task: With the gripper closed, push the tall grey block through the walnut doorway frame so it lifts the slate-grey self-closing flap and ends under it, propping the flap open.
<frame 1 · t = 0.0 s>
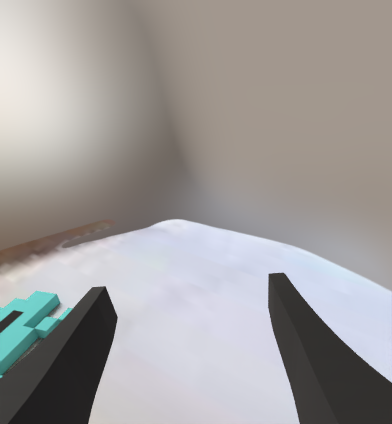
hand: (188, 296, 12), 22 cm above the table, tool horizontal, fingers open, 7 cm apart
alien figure: (3, 355, 38), on the table
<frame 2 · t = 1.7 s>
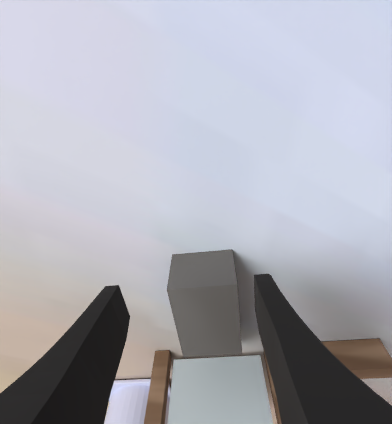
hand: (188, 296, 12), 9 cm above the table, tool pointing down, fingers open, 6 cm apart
flap: (218, 395, 26), point 4 cm above the table, hinge at 0.0°
tall grey block: (208, 294, 25), on the table
doorway frame: (216, 352, 29), on the table
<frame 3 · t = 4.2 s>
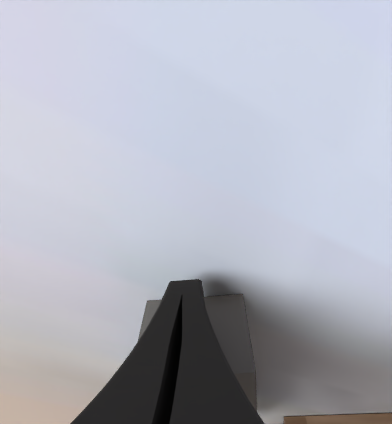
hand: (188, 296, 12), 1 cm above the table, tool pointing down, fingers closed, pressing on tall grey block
tall grey block: (204, 356, 17), on the table, touching gripper
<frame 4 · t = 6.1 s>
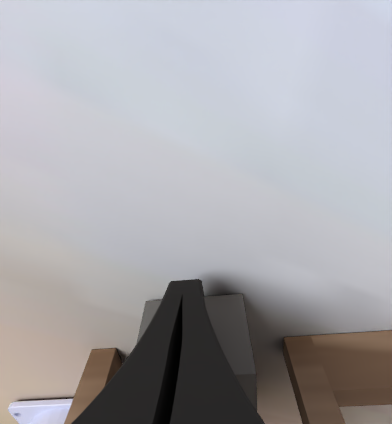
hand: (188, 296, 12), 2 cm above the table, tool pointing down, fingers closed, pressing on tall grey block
tall grey block: (204, 355, 17), on the table, touching flap, gripper
doorway frame: (199, 350, 17), on the table
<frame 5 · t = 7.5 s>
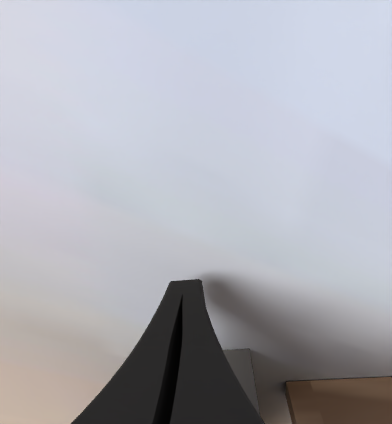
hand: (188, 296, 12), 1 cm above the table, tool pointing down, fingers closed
tall grey block: (215, 394, 19), on the table
doorway frame: (210, 391, 19), on the table
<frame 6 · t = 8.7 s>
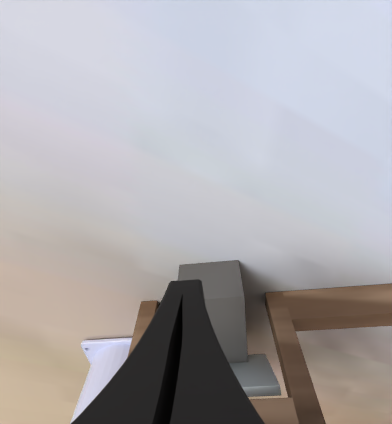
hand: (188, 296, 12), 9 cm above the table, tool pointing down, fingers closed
flap: (215, 374, 22), point 5 cm above the table, hinge at 41.5°, touching tall grey block
tall grey block: (214, 303, 26), on the table, touching flap
doorway frame: (211, 302, 26), on the table
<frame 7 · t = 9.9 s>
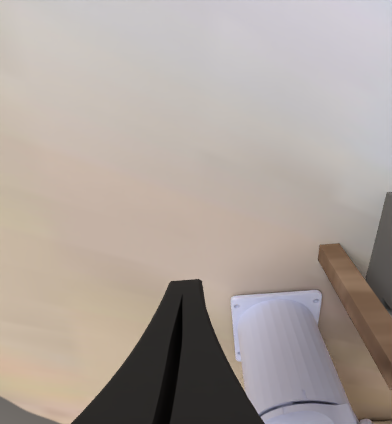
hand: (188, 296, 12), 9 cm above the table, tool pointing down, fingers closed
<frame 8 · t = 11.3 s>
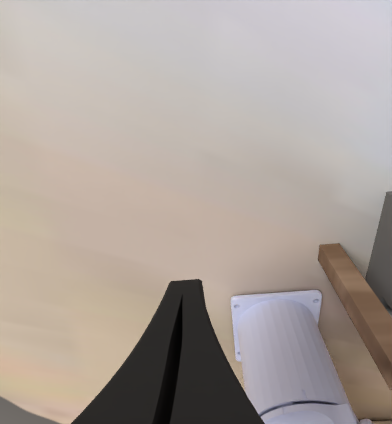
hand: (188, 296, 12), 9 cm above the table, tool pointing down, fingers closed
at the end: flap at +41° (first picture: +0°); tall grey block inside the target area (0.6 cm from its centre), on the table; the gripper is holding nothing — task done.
